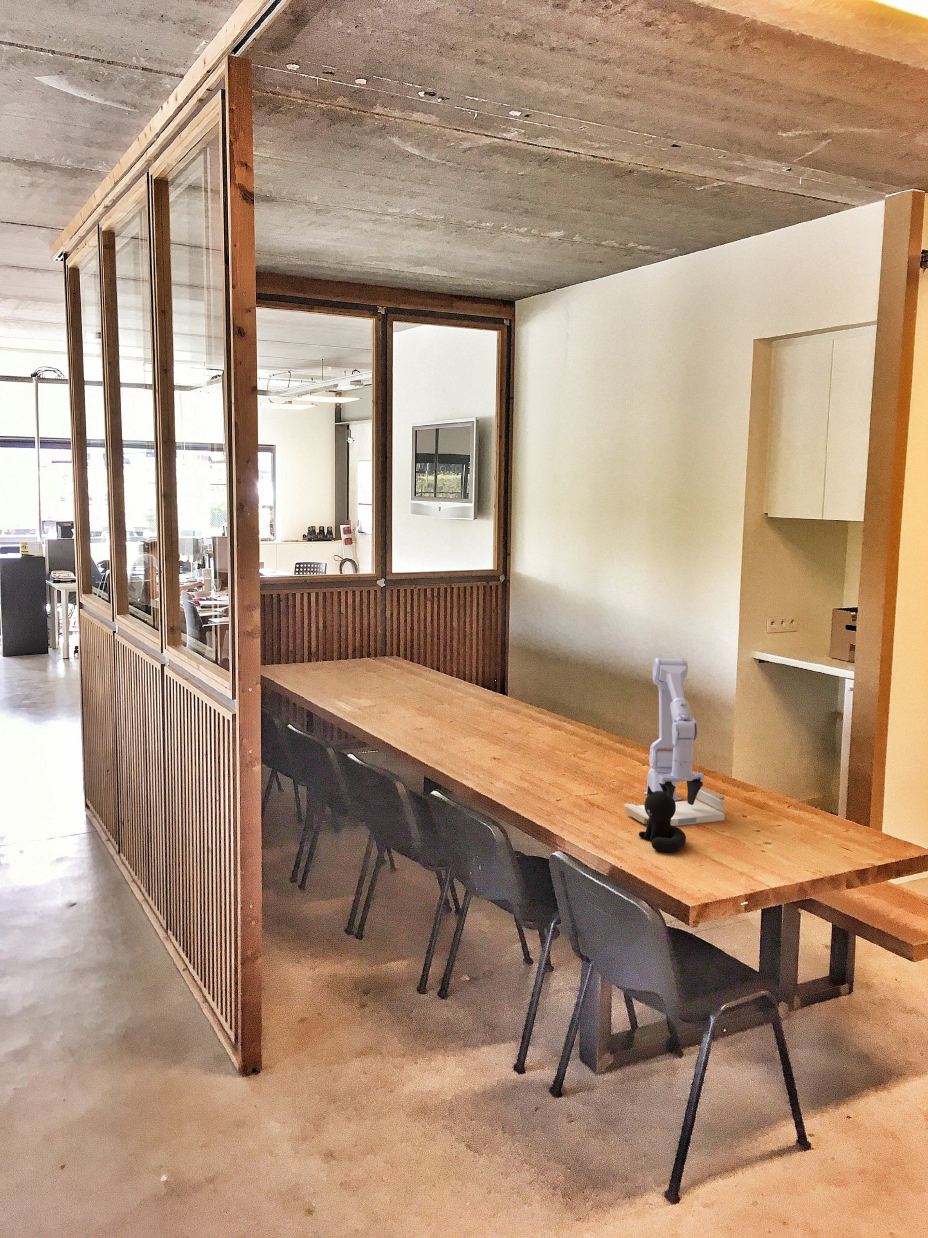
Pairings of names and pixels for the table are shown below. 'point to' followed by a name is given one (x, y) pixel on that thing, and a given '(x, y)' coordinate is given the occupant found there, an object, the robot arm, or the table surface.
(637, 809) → the near flap
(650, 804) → the figurine
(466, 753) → the table surface
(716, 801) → the far flap
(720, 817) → the carton
